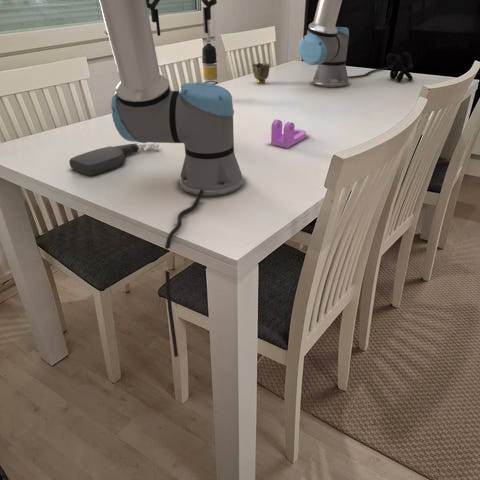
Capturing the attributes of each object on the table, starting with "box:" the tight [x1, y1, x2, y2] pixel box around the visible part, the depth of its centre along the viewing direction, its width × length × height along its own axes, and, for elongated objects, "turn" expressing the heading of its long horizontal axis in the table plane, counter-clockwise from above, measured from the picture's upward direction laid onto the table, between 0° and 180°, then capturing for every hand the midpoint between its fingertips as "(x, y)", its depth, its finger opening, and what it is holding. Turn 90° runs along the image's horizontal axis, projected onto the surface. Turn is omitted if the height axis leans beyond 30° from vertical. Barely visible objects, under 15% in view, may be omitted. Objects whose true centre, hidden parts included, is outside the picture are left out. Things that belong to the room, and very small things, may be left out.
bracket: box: [270, 119, 307, 149], centre depth 134 cm, size 13×6×7 cm, turn 143°
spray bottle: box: [68, 142, 160, 177], centre depth 124 cm, size 3×11×24 cm
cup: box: [252, 62, 271, 85], centre depth 198 cm, size 8×7×8 cm
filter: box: [201, 20, 219, 85], centre depth 171 cm, size 6×6×30 cm
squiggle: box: [385, 51, 414, 83], centre depth 198 cm, size 11×10×15 cm
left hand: (182, 34), depth 128 cm, fingers open, 13 cm apart
